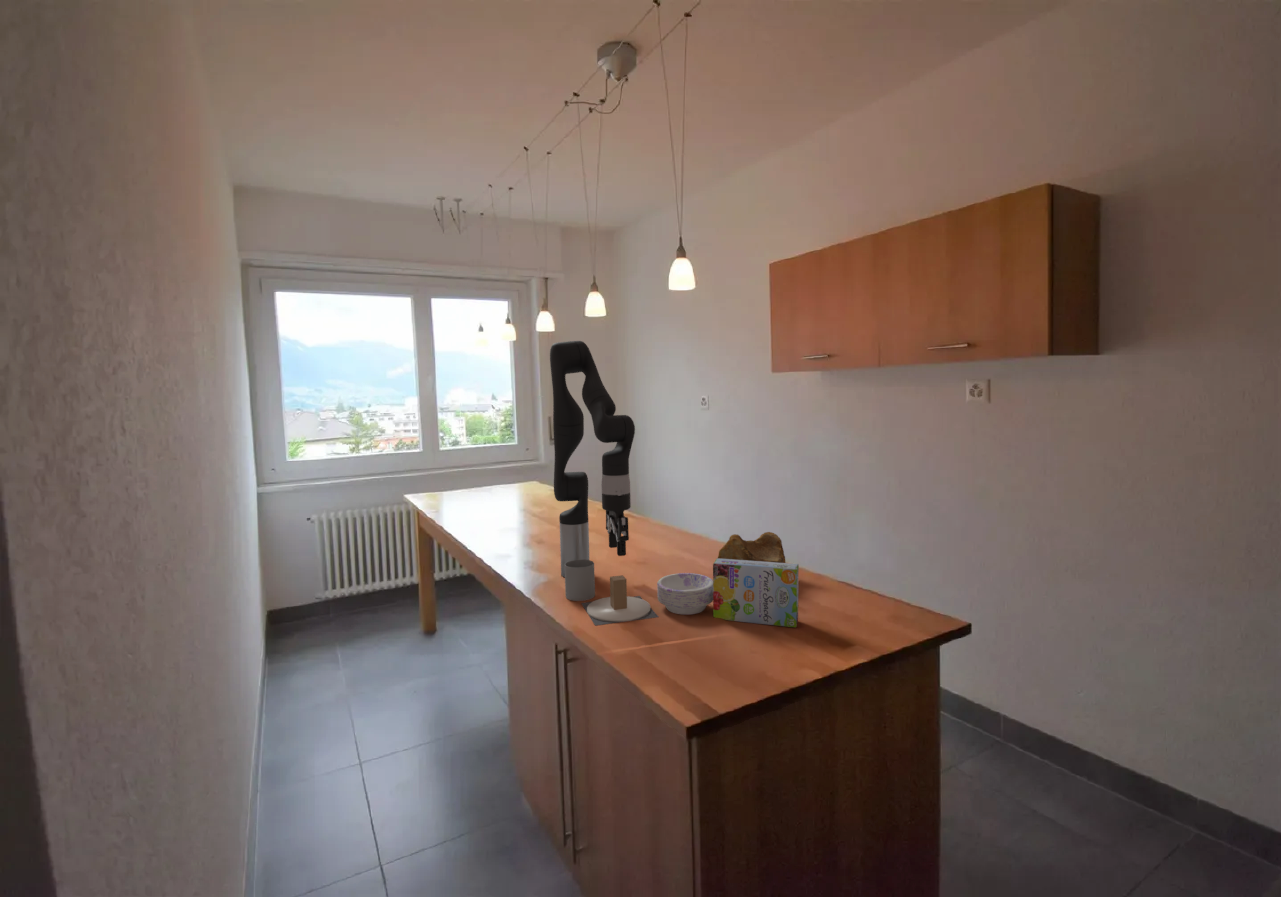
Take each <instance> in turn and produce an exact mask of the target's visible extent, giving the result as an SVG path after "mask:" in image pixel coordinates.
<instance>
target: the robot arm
mask: <svg viewBox="0 0 1281 897" xmlns="http://www.w3.org/2000/svg"><path fill="white" fill-rule="evenodd" d="M549 363H550V373H551V374H550V375H551V386H552V402H553V403H552V404H553V409H552V411H553V414H552V415H553V416H552V421H553V422H552V423H553V424H552V425H553V427H552V428H553V430H552V431H553V444H554V446H553V447H554V465H553V467H554V470H553V493H554V494H553V495H554V499H555V500H556V501H557V502H577V503H576V504H575V505H574V506H572V507H571V508H568V509H566V510H564V511H562V512H560V514H559V543H560V544H559V546H560V547H559V548H560V575H561V576H562V577H564V578H565V563H566V562H568V561H572V560H583V559H584V560H590V532H589V531H590V528H589V525H590V524H589V478H588V474H587V473H586V472H585V471H569V472H568V471H567V472H566V471H565V470H566V467H567V465H568V462H569V461H570V458H571V456H572V455H573V454H574V452H575V451H576V449H577V448H578V447H579V445H580V443H581V442H582V439H584V434H585V432H584V431H585V429H584V427H585V426H584V425H585V423H584V422H585V419H584V417H585V416H584V413H583V411H582V408H581V407H580V405H579V404H578V402H577V401H576V400H575V399H574V397H573V396H572V394H571V392H570V390H569V389H568V385H567V379H566V375H568V374H576V373H577V374H578V373H579V374H580V373H583V374H584V381H583V385H582V390H581V396H582V402H583V404H584V405H585V408H586V409H587V410H588V412H589V414H590V417H591V420H592V425H593V431H594V432H593V433H594V436H595V438H596V439H597V440H599V441H600V442H601V443H604V444H609V443H610V444H611V443H616V445H615V447H614V448H613V449H612V450H609V451H606V452H604V453H603V454H602V456H601V471H602V472H601V473H602V476H601V508H602V509H603V510H604V511H605V529H606V531H607V534H608V547H609V548H610V549H615V548H616V554H617V556H618V557H623V556H626V555H627V543H626V542H627V541H629V540H630V535H629V517H628V516H625V513H624V512H625V511H628V510H629V509H631V503H632V502H631V480H630V464H629V462H630V454H631V450H632V445H633V442H634V438H635V434H636V427H635V423H634V420H633V419H632V417H630V416H629V415H627V414H620V415H619V414H617V415H615V413H616V410H617V408H616V404H615V402H614V400H613V399H612V397H611V395H610V394H609V391H608V390H607V389H606V387H605V385H604V383H603V381H602V378H601V376H600V373H599V371H598V367H597V366H596V365H597V364H596V362H595V360H594V358H593V355H592V353H591V350H590V348H589V347H588V345H587V344H586V343H585V342H584V341H583V340H572V341H570V340H569V341H561V342H559V341H558V342H554V343H552V345H551V346H550V351H549Z"/></svg>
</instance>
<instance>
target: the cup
mask: <svg viewBox="0 0 1281 897" xmlns="http://www.w3.org/2000/svg"><path fill="white" fill-rule="evenodd" d="M595 580H596V578H595V562H594V560H590V559H589V560H584V559H583V560H572V561H568V562H566V563H565V577H564V584H565V585H564V587H565V588H564V589H565V598H566V599H567V600H569V601H574V602H580V601H581V602H582V601H583V602H584V601H589V600H592V599H594V597H595V596H596V588H595V587H596V585H595V584H596V582H595Z"/></svg>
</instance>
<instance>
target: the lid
mask: <svg viewBox="0 0 1281 897" xmlns="http://www.w3.org/2000/svg"><path fill="white" fill-rule="evenodd" d="M627 583H628V582H627V578H626V577H625V576H624V575H613V576H609V593H610V594H609V595H610V596H608V597H602V598H599V599H595V600H593V601H590V602H591V603H590V604H589V605H588V606H587V612H586V614H587V615H588V617H589V616H591V617H592V618H595V619H598V620H602V621H608V622H619V623H625V622H624V621H627V622H632V621H631V620H634V621H637V620H636V619H639V618H642V617H644V616H646V615H647V614H648V613H649V612H650V608H651V604H650V602H648V601H647V600H645V599H643V598H642V599H640V598H636V597H634V596H628V592H627V590H628V589H627Z"/></svg>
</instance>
